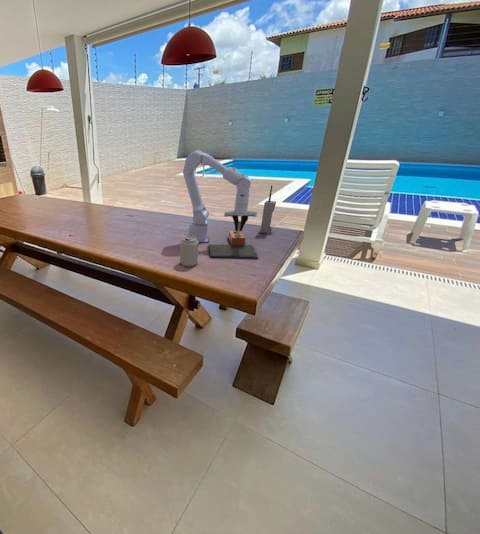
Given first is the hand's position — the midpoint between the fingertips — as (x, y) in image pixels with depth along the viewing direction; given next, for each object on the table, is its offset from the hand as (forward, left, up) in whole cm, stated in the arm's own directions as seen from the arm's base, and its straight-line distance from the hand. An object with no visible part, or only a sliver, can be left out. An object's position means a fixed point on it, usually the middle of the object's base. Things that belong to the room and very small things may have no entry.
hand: (238, 230), depth 150 cm
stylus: (0, 0, -6) cm, 6 cm away
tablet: (-4, -12, -7) cm, 14 cm away
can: (-24, -26, -7) cm, 36 cm away
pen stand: (0, +2, -7) cm, 7 cm away
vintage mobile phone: (+17, +16, -7) cm, 24 cm away
